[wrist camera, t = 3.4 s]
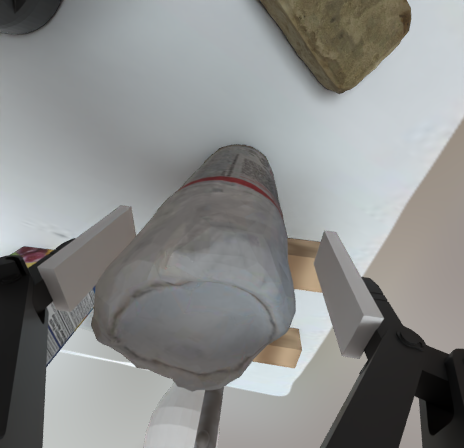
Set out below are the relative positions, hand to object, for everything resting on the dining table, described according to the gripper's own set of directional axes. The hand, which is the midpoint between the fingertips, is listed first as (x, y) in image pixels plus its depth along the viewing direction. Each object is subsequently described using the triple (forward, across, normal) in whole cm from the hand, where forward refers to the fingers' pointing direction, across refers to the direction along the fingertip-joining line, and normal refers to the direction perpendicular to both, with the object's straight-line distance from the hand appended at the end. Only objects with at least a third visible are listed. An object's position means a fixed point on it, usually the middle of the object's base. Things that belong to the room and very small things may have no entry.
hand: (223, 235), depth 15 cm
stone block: (+12, +5, +15) cm, 19 cm away
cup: (+12, -4, -36) cm, 38 cm away
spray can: (+12, 0, 0) cm, 12 cm away
